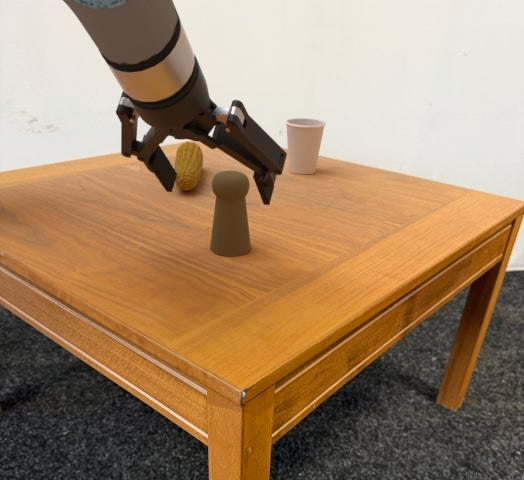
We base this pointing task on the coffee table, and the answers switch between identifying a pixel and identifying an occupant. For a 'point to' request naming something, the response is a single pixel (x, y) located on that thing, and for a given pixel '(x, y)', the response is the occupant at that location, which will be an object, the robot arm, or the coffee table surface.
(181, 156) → the food
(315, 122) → the dixie cup
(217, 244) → the cork
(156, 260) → the coffee table surface
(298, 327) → the coffee table surface
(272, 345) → the coffee table surface
